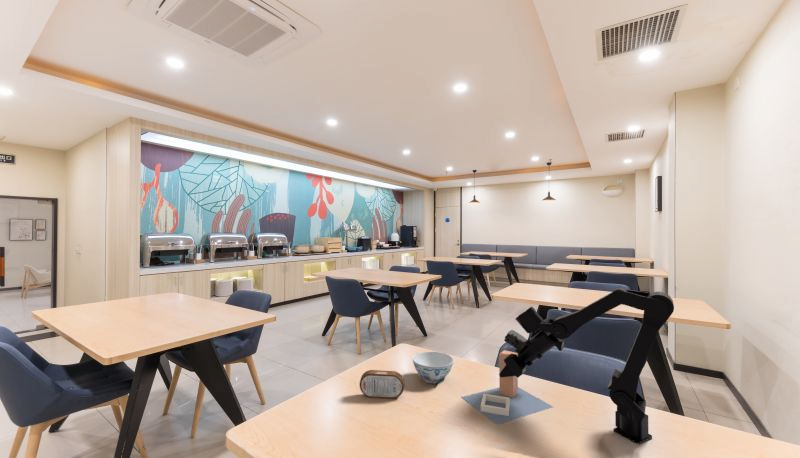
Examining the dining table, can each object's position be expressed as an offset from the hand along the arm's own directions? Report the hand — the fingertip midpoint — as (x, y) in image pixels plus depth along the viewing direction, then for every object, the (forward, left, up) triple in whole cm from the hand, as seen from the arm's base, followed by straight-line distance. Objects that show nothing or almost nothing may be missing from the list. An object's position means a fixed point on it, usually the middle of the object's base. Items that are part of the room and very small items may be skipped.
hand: (504, 371), depth 110 cm
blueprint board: (-5, +4, -8) cm, 10 cm away
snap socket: (-6, +9, -7) cm, 13 cm away
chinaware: (+21, +15, -8) cm, 27 cm away
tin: (+17, +37, -8) cm, 42 cm away
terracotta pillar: (-1, -1, -7) cm, 7 cm away
